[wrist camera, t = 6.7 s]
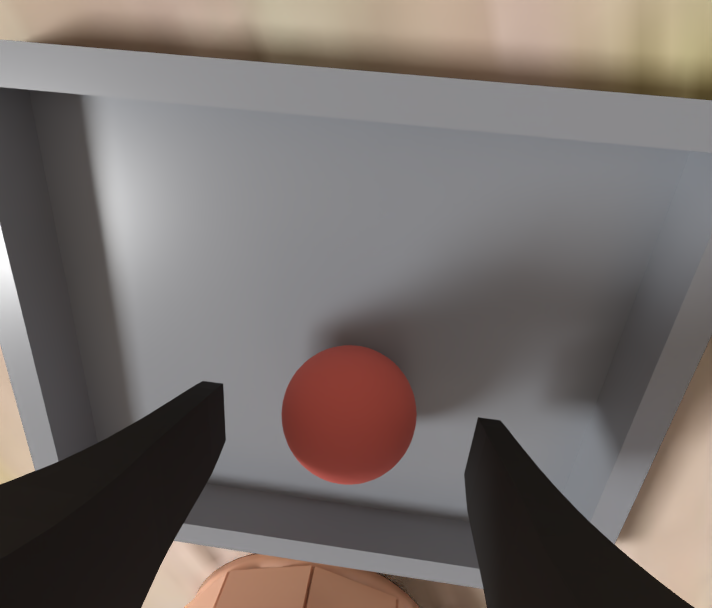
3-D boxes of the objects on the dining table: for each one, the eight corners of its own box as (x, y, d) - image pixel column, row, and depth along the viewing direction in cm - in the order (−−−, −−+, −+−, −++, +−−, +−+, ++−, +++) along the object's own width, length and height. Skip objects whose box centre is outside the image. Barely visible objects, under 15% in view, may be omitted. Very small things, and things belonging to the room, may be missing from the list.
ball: (423, 331, 14) (431, 406, 10) (405, 430, 15) (406, 527, 12) (300, 315, 14) (265, 384, 10) (295, 415, 16) (263, 505, 12)
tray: (731, 112, 11) (816, 109, 9) (562, 541, 17) (586, 605, 15) (4, 49, 12) (-87, 31, 10) (92, 472, 19) (49, 521, 16)
